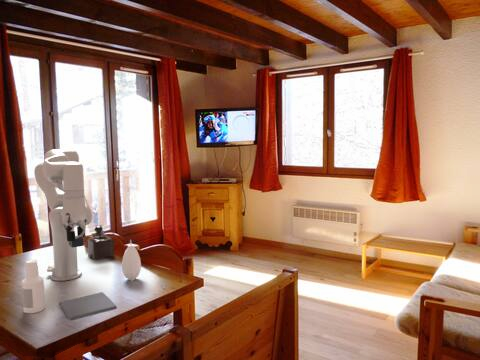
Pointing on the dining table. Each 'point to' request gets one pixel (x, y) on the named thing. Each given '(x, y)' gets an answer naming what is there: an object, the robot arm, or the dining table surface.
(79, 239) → the watch
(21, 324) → the dining table surface
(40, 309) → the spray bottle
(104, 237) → the coffee grinder
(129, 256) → the white eggplant
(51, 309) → the dining table surface
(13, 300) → the dining table surface
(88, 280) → the dining table surface
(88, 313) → the mat
